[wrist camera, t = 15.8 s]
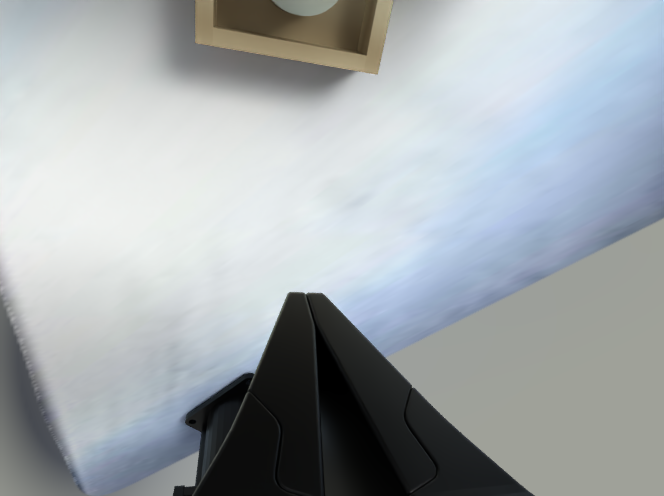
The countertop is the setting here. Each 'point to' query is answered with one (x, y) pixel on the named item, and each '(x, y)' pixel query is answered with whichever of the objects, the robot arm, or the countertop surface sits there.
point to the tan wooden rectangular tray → (299, 29)
